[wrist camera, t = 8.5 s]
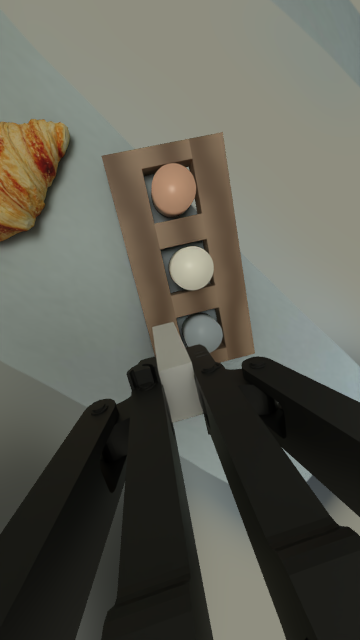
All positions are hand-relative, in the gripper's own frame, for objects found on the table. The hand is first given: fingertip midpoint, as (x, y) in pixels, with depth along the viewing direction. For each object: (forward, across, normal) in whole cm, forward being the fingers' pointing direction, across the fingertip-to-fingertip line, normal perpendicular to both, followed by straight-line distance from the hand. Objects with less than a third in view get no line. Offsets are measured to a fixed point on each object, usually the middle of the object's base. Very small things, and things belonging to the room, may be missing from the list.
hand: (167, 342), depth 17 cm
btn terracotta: (+18, +5, +12) cm, 22 cm away
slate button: (+17, +5, -6) cm, 19 cm away
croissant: (+19, -14, +16) cm, 29 cm away
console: (+18, +5, +3) cm, 19 cm away
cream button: (+16, +5, +3) cm, 17 cm away
